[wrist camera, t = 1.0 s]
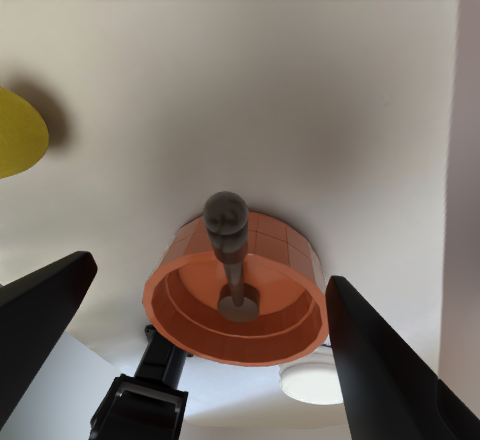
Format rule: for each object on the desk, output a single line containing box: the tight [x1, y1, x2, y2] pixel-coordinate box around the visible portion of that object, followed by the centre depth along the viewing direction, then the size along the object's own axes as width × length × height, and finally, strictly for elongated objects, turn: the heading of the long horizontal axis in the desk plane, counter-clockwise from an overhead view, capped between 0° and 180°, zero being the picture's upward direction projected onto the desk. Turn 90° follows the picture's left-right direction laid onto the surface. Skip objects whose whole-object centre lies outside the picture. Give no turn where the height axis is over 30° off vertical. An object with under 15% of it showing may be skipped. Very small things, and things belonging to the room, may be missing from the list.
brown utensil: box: [203, 191, 260, 322], centre depth 17 cm, size 19×4×10 cm, turn 179°
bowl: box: [142, 211, 329, 367], centre depth 21 cm, size 16×16×6 cm
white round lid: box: [279, 346, 344, 405], centre depth 31 cm, size 10×10×4 cm
